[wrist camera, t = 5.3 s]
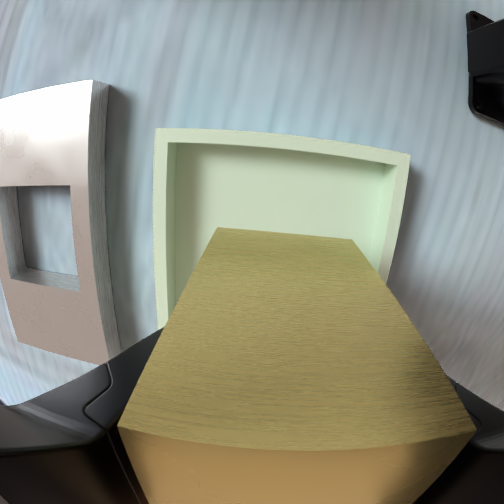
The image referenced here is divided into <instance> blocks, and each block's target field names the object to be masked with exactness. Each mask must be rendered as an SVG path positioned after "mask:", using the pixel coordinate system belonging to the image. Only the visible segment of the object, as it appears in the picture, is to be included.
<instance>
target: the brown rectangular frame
mask: <svg viewBox="0 0 504 504" xmlns="http://www.w3.org/2000/svg"><path fill="white" fill-rule="evenodd" d="M108 92H109V84H106V83H102V82H98V81H94V80H88V81H82V82H76V83H70V84H64V85H59V86H54V87H49V88H44V89H39V90H35V91H31V92H27V93H23V94H19V95H15V96H11V97H7V98H4V99H0V278H1V282H2V286H3V291H4V295H5V298H6V302H7V306H8V310H9V313H10V317H11V320H12V323H13V326H14V330H15V333H16V336H17V339H18V341H19V342H22V343H25V344H28V345H31V346H34V347H37V348H40V349H43V350H46V351H50V352H53V353H57V354H60V355H64V356H67V357H71V358H74V359H78V360H82V361H86V362H90V363H94V364H98V365H101V364H103V363H106V362H107V361H108V360H110V359H112V358H113V357H115V356H117V355H118V354H120V352H121V347H120V341H119V335H118V329H117V323H116V316H115V309H114V302H113V294H112V285H111V276H110V266H109V255H108V243H107V227H106V204H105V141H106V119H107V104H108ZM42 185H70V194H71V212H72V226H73V237H74V247H75V255H76V264H77V271H78V276H74V275H67V274H61V273H55V272H48V271H42V270H36V269H30V268H26V263H25V257H24V251H23V244H22V237H21V230H20V221H19V211H18V200H17V186H42Z"/></svg>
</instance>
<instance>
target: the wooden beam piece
mask: <svg viewBox="0 0 504 504" xmlns="http://www.w3.org/2000/svg"><path fill="white" fill-rule="evenodd" d="M117 427H118V430H119V433H120V436H121V438H122V441H123V444H124V446H125V449H126V452H127V454H128V457H129V459H130V462H131V464H132V467H133V469H134V472H135V474H136V476H137V479H138V481H139V483H140V485H141V488H142V490H143V492H144V494H145V496H146V498H147V501H148V503H149V504H412V503H413V502H414V501H416V500H417V499H418V498H419V497H420V496H421V495H422V494H423V493H424V492H425V491H426V490H427V489H428V488H429V486H430V485H431V484H432V483H433V482H434V481H435V480H436V479H437V478H438V477H439V476H440V475H441V474H442V472H443V471H444V470H445V469H446V468H447V467H448V466H449V465H450V463H451V462H452V461H453V460H454V459H455V457H456V456H457V455H458V454H459V453H460V451H461V450H462V449H463V448H464V446H465V445H466V444H467V443H468V441H469V440H470V439H471V437H472V436H473V435H474V433H475V432H476V431H477V429H476V427H475V425H474V423H473V421H472V420H471V418H470V416H469V414H468V412H467V411H466V409H465V407H464V405H463V403H462V402H461V400H460V398H459V397H458V395H457V393H456V391H455V390H454V388H453V386H452V385H451V383H450V381H449V380H448V378H447V376H446V375H445V373H444V371H443V370H442V368H441V366H440V365H439V363H438V362H437V360H436V358H435V357H434V355H433V354H432V352H431V350H430V349H429V347H428V346H427V344H426V343H425V341H424V340H423V338H422V336H421V335H420V333H419V332H418V330H417V329H416V327H415V326H414V324H413V323H412V321H411V320H410V318H409V317H408V316H407V314H406V313H405V311H404V310H403V308H402V307H401V305H400V304H399V302H398V301H397V300H396V298H395V297H394V295H393V294H392V292H391V291H390V290H389V288H388V287H387V285H386V284H385V283H384V281H383V280H382V279H381V277H380V276H379V274H378V273H377V272H376V270H375V269H374V268H373V266H372V265H371V264H370V262H369V261H368V260H367V258H366V257H365V256H364V254H363V253H362V252H361V250H360V249H359V248H358V246H357V245H356V244H355V242H354V241H353V240H352V239H342V238H332V237H322V236H312V235H302V234H291V233H280V232H269V231H258V230H247V229H235V228H223V227H217V228H216V230H215V232H214V234H213V236H212V238H211V239H210V241H209V243H208V245H207V247H206V249H205V250H204V252H203V254H202V256H201V258H200V260H199V262H198V264H197V265H196V267H195V269H194V271H193V273H192V275H191V277H190V279H189V281H188V282H187V284H186V286H185V288H184V290H183V292H182V294H181V296H180V298H179V300H178V302H177V304H176V306H175V307H174V309H173V311H172V313H171V315H170V317H169V319H168V321H167V323H166V325H165V327H164V329H163V331H162V333H161V335H160V337H159V339H158V341H157V343H156V345H155V347H154V349H153V351H152V353H151V355H150V357H149V359H148V361H147V363H146V365H145V368H144V370H143V372H142V374H141V376H140V378H139V380H138V382H137V384H136V386H135V388H134V390H133V393H132V395H131V397H130V399H129V401H128V403H127V405H126V407H125V410H124V412H123V414H122V416H121V418H120V420H119V423H118V425H117Z"/></svg>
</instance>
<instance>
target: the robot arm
mask: <svg viewBox="0 0 504 504" xmlns="http://www.w3.org/2000/svg"><path fill="white" fill-rule="evenodd" d="M473 17H474V18H475V20H476V21H475V20H474V19H473ZM466 23H467V47H468V72H469V97H468V103H469V107H470V109H471V111H472V112H474V113H476V114H478V115H481V116H484V117H486V118H488V119H491V120H493V121H496V122H498V123H500V124H503V125H504V19H501V20H498V21H495V22H494V21H492V20H491V19H489V18H487V17H485V16H483V15H481V14H479V13H477V12H475V11H470V12H468V13H467V14H466ZM476 101H477V103H478V108H477V106H476ZM164 327H165V326H164ZM164 327H163V328H161V329H159V330H158V331H156V332H155V333H153V334H151V335H150V336H148V337H146V338H145V339H143V340H141V341H140V342H138V343H136V344H135V345H133V346H131V347H130V348H128V349H127V350H125V351H123V352H122V353H120V354H118V355H117V356H115V357H113V358H112V359H110V360H108V361H107V362H106V363H103V364H101V365H100V366H98V367H96V368H95V369H93V370H91V371H89V372H88V373H86V374H84V375H82V376H80V377H79V378H76V379H74V380H72V381H70V382H68V383H66V384H64V385H62V386H60V387H58V388H55V389H53V390H51V391H49V392H47V393H44V394H42V395H40V396H38V397H35V398H33V399H31V400H29V401H26V402H24V403H21V404H17V405H11V406H0V504H149V503H148V501H147V498H146V496H145V494H144V492H143V490H142V488H141V485H140V483H139V481H138V479H137V476H136V474H135V472H134V469H133V467H132V464H131V462H130V459H129V457H128V454H127V452H126V449H125V446H124V444H123V441H122V438H121V436H120V433H119V430H118V427H117V425H118V423H119V420H120V418H121V416H122V414H123V412H124V410H125V407H126V405H127V403H128V401H129V399H130V397H131V395H132V393H133V390H134V388H135V386H136V384H137V382H138V380H139V378H140V376H141V374H142V372H143V370H144V368H145V365H146V363H147V361H148V359H149V357H150V355H151V353H152V351H153V349H154V347H155V345H156V343H157V341H158V339H159V337H160V335H161V333H162V331H163V329H164ZM446 376H447V375H446ZM447 378H448V380H449V381H450V383H451V385H452V386H453V388H454V390H455V391H456V393H457V395H458V397H459V398H460V400H461V402H462V403H463V405H464V407H465V409H466V411H467V412H468V414H469V416H470V418H471V420H472V421H473V423H474V425H475V427H476V429H477V431H476V432H475V433H474V435H473V436H472V437H471V439H470V440H469V441H468V443H467V444H466V445H465V446H464V448H463V449H462V450H461V451H460V453H459V454H458V455H457V456H456V457H455V459H454V460H453V461H452V462H451V463H450V465H449V466H448V467H447V468H446V469H445V470H444V471H443V472H442V474H441V475H440V476H439V477H438V478H437V479H436V480H435V481H434V482H433V483H432V484H431V485H430V486H429V488H428V489H427V490H426V491H425V492H424V493H423V494H422V495H421V496H420V497H419V498H418V499H417V500H416V501H414V502H413V503H412V504H504V411H502V410H500V409H498V408H497V407H495V406H493V405H491V404H490V403H488V402H486V401H485V400H483V399H481V398H480V397H478V396H477V395H475V394H473V393H472V392H470V391H469V390H467V389H466V388H464V387H463V386H462V385H460V384H459V383H456V382H455V381H454V380H453V379H451V378H450V377H448V376H447Z"/></svg>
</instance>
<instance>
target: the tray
mask: <svg viewBox="0 0 504 504" xmlns="http://www.w3.org/2000/svg"><path fill="white" fill-rule="evenodd" d="M410 157H411V155H410V154H406V153H401V152H396V151H391V150H386V149H381V148H376V147H370V146H365V145H359V144H353V143H346V142H340V141H333V140H326V139H319V138H311V137H303V136H294V135H285V134H275V133H263V132H251V131H236V130H217V129H184V128H155V143H154V171H153V246H154V273H155V292H156V308H157V321H158V330H159V329H161V328H163V327H164V326H165V325H166V323H167V321H168V319H169V317H170V315H171V313H172V311H173V309H174V307H175V306H176V304H177V302H178V300H179V298H180V296H181V294H182V292H183V290H184V288H185V286H186V284H187V282H188V281H189V279H190V277H191V275H192V273H193V271H194V269H195V267H196V265H197V264H198V262H199V260H200V258H201V256H202V254H203V252H204V250H205V249H206V247H207V245H208V243H209V241H210V239H211V238H212V236H213V234H214V232H215V230H216V228H217V227H223V228H235V229H247V230H258V231H269V232H280V233H291V234H302V235H312V236H322V237H332V238H342V239H352V240H353V241H354V242H355V244H356V245H357V246H358V248H359V249H360V250H361V252H362V253H363V254H364V256H365V257H366V258H367V260H368V261H369V262H370V264H371V265H372V266H373V268H374V269H375V270H376V272H377V273H378V274H379V276H380V277H381V279H382V280H383V281H384V283H385V284H387V280H388V276H389V272H390V267H391V263H392V259H393V254H394V250H395V245H396V241H397V236H398V231H399V226H400V221H401V215H402V210H403V204H404V198H405V192H406V186H407V179H408V172H409V165H410Z"/></svg>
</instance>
